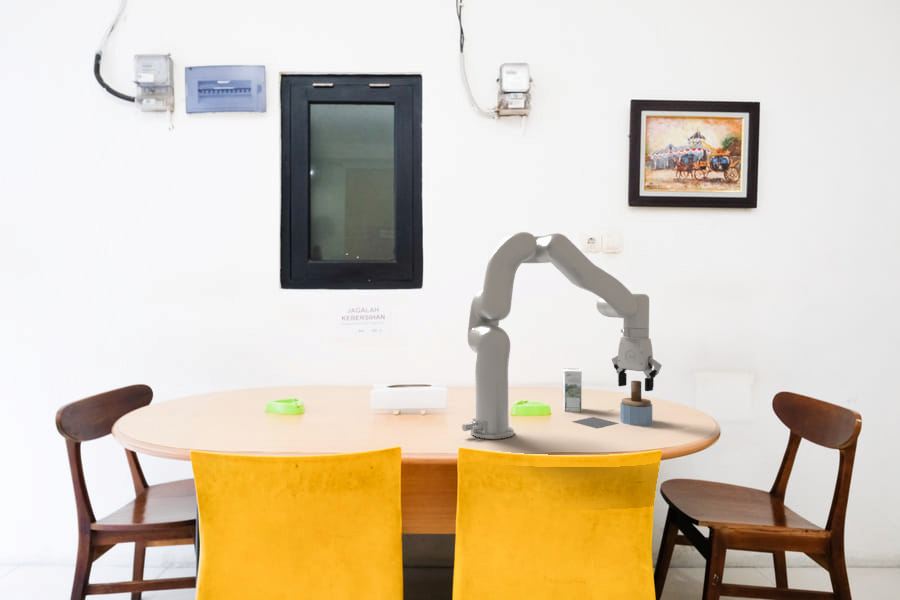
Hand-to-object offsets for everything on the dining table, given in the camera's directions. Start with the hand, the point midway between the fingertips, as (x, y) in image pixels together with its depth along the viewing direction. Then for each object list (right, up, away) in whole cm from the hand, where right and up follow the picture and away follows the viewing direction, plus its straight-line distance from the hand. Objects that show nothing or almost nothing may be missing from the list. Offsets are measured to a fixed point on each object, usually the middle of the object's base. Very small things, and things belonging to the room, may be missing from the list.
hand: (635, 388), depth 165 cm
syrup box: (-16, -11, +17) cm, 26 cm away
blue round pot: (+1, -11, 0) cm, 11 cm away
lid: (0, -5, 0) cm, 5 cm away
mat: (-13, -11, 0) cm, 17 cm away
